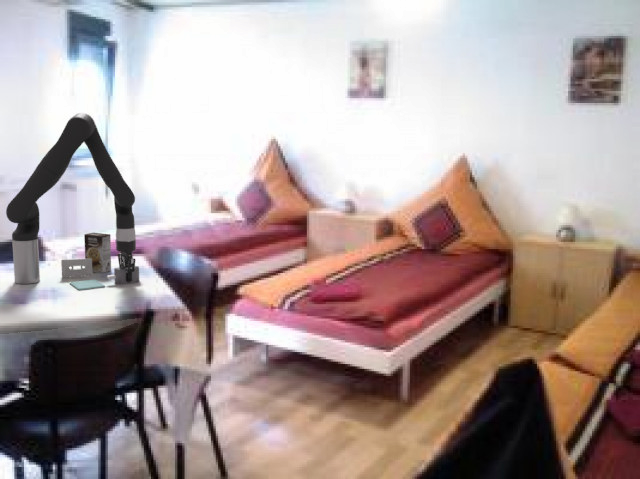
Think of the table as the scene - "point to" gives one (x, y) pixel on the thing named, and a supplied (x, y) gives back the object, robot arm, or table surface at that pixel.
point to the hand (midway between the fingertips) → (127, 280)
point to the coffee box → (98, 251)
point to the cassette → (76, 272)
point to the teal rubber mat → (87, 284)
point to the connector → (124, 275)
